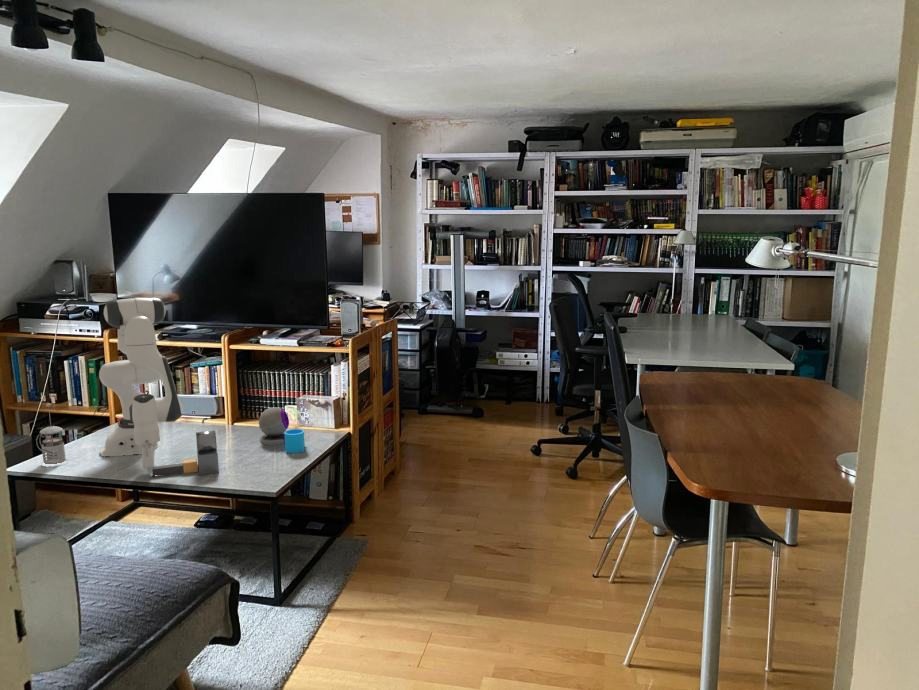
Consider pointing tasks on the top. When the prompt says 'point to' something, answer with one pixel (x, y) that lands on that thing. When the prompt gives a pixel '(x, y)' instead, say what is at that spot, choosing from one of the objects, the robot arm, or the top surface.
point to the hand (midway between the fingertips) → (150, 471)
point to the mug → (294, 441)
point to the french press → (56, 452)
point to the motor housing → (207, 452)
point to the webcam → (273, 425)
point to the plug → (176, 468)
